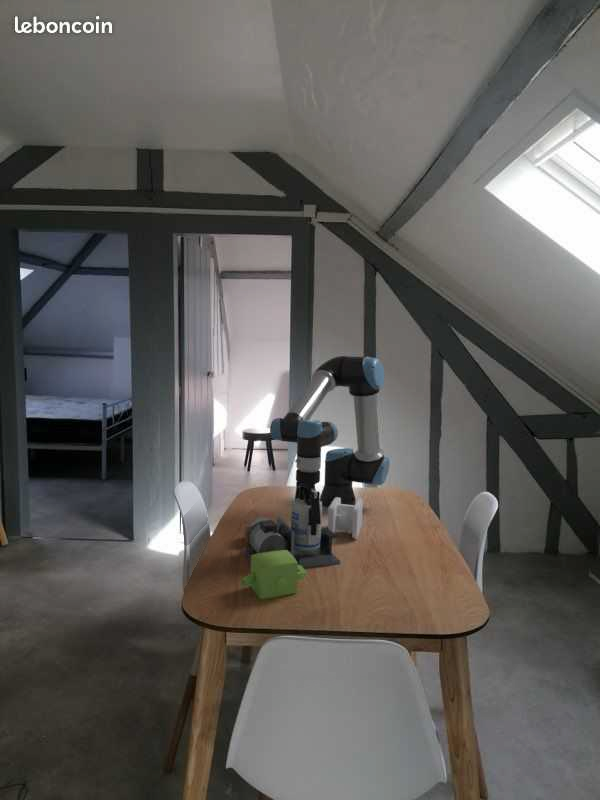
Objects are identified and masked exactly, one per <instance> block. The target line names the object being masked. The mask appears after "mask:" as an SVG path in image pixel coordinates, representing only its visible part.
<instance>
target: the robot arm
mask: <svg viewBox="0 0 600 800" xmlns="http://www.w3.org/2000/svg"><path fill="white" fill-rule="evenodd" d="M384 379H385V369H384V366H383V364H382V361H381V360H380V359H378V358H376V357H370V356H345V355H339V356H335V357H333V358H331V359H329V360H327V361H325V362H324V363H322V364H321V365H320V366H318V367H317V369H315V370H314V372H313V374H312V376H311V380H310V382H309V383H308V385H307V386H306V387H305V389H303V392H302V393H301V395H299V397H298V398H297V400H295V403H294V404H292V407H290V409H289V411H287V413H286V414H285V416H284V417H283V418H282V417H277V418H274V419H273V420H271V423H270V426H269V434H270V437H271V438H272V439H273V440H276V441H280V442H287V443H295V444H296V459H295V463H296V466H295V467H296V468H297V469H296V470H295V471H296V472H295V482H296V484H295V485H296V487H295V495H294V500H295V499H298V498H299V499H300V500H301V499H305V503H306V504H307V505H308V506H311V509H309V523H308V524H307V525H308V540H307V545H316V542H317V525H318V524H321V525H322V522H321V519H320V503H319V500H320V501H321V502H322V507H325V508H328V507H330V505H331V503H332V501H333V499H335V497H339V498H341V504H346V505H355V504H356V502H357V501H356V500H357V499H356V494H355V491H354V489H353V483H359V484H364V485H365V484H367V485H371V486H382V485H383V484H385V482H386V480H387V477H388V474H389V470H390V458H388V457H387V456H384V455H385V454H384V450H383V449H382V448H380V434H379V420H378V418H379V417H378V407H377V395H378V394H380V391H381V390H380V389H382V388H383V386H384V383H385V380H384ZM336 387H346V388H348V392H349V394H350V396H352V398H353V404H354V416H355V428H356V440H357V450H356V451H355V450H354V448H347V447H345V448H334V449H330V450H328V451H327V452H326V453H325V459H324V484H323V488H322V490H321V494H320V491H319V490H318V491H317V489H316V484H319V483H320V481H321V471H320V469H321V463H322V460H321V459H322V448H323V447H325V446H329V445H331V444H332V443H334V442H335V441H336V440H337V439H338V436H339V429H338V427H337V426H336V424H334V423H333V422H331V421H321V420H319V419H311V417H312V416H313V415H314V413H315V412H316V410H317V409H318V408H319V406H320V404H321V403H322V402H323V400H324V399H325V397H326V396H327V395H328V393H329V392H332V391H333V390H334V389H335V388H336Z"/></svg>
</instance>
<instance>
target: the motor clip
mask: <svg viewBox="0 0 600 800" xmlns="http://www.w3.org/2000/svg"><path fill="white" fill-rule="evenodd" d="M336 538H337V534H336V533H335V534H334V533H333V532H332V531H331V530H329V529H328V527H325V528H321V539H320V547H319V548H318V549H317V550H314V551H299V550H296V549H294V540H295V531H294V530H293V529H292V528H291V525H289V524H288V523H287V522H286V521H284V519H282V517H280V516H277V517H276V522H275V521H274V520H273V519H267V520H266V521H260V522H258V523H256V524H254V525H253V526H252V527H251V528H250V530H249V532H248V542H249V543H248V542H247V543H248V544H249V545H250V546H251V547H250V546H249V547H243V548H242V552H243V554H244V555H245V557H246V558H247V560H249V562H250V563H251V555H253V554H258V553H264V552H271V551H279V550H288V551H289V552H290V553H291V554H292V556H293V557H294V558H295V559H296V561H297V562H298V565H301V566H302V567H303V568H304V569H309V568H317V567H325V566H334V565H341V560H340V559H339V558H338V557H337V556H336V555H335V554H334V553H332V552H333V551H332V547H333V545H332V544H333V539H336Z"/></svg>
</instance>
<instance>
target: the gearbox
mask: <svg viewBox="0 0 600 800" xmlns="http://www.w3.org/2000/svg"><path fill="white" fill-rule="evenodd" d="M307 575H308V572H307V571H306V568H303V567H302V566H301V565H298V562H297V561H296V559H295V558H294V557H293V556H292V554H291V553H290V552H289V551H288V550H279V551H271V552H264V553H258V554H253V555H251V562H250V573H249V574H248V575H246V576H245V577H243V578H242V579H241V580H240V585H241V586H242V587H244V588H245V587H247V586H249V585H250V587H251V589H252V590H253V592H254V593H255V594H256V595H257V597H258V598H259V599H260V600H265V599H271V598H278V597H283V596H288V595H292V594H293V595H294V594H296V593H297V592H298V580H299V581H300V580H304V579H306V578H307Z"/></svg>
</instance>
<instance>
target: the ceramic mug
mask: <svg viewBox="0 0 600 800" xmlns="http://www.w3.org/2000/svg"><path fill="white" fill-rule="evenodd" d="M266 520H268V519H267V518H265V517H256V518H254V519H253V520H252V522H251V523H250V524H249V525H248V526H247V527H246V529H245V532H244V537H245V538H244V539H245V540H246V542H247V543H248V544H249V542H248V532H249V530H250V528H251V527H252V526H253V525H254V524H256V523H258V522H260V521H266Z"/></svg>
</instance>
